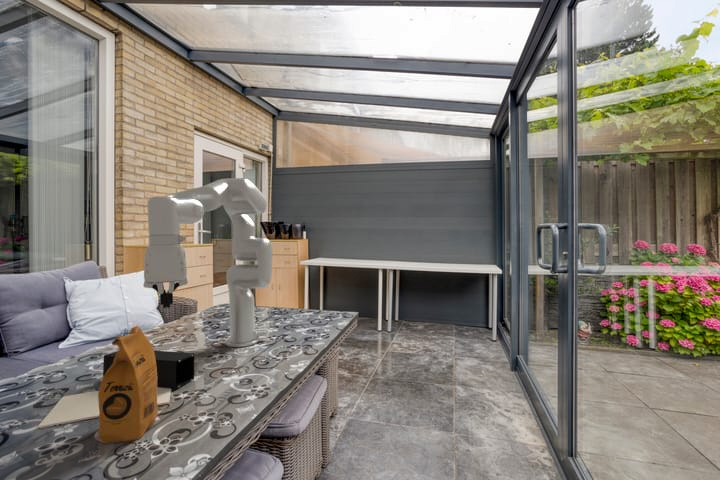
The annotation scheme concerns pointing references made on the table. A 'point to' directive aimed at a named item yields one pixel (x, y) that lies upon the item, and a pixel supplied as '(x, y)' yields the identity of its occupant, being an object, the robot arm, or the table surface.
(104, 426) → the coffee package
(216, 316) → the table surface
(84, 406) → the mat
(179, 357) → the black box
